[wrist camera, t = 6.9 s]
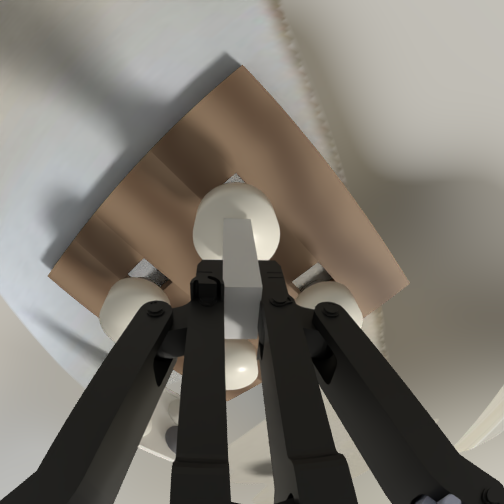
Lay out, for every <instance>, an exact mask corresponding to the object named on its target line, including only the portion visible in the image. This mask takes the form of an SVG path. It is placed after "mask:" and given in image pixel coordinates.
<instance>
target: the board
mask: <svg viewBox="0 0 504 504" xmlns="http://www.w3.org/2000/svg"><path fill="white" fill-rule="evenodd" d="M235 173H237V174H238V175H239V176H240V177H241V178H242V180H243V181H244V182H245V183H246V184H249V185H252V186H254V187H256V188H258V189H259V190H261V191H262V192H263V193H264V194H265V195H266V196H267V197H268V199H269V200H270V202H271V204H272V207H273V209H274V212H275V215H276V218H277V221H278V224H279V228H280V239H279V244H278V247H277V249H276V251H275V253H274V254H273V256H272V257H271V258H270V259H269V260H275V261H276V262H277V263H278V264H279V265H280V266H281V269H282V272H283V276H284V279H285V283H286V286H287V290H288V294H289V295H290V296H291V297H293V298H294V300H295V299H296V298H297V296H298V295H299V294H300V293H301V291H300V290H299V289H298V288H297V287H296V286H295V285H294V284H293V283H292V281H293V280H295V279H296V278H297V277H299V276H300V275H301V274H303V273H304V272H305V271H307V270H308V269H309V268H311V267H312V266H313V265H315V264H316V263H317V262H319V263H320V264H321V265H322V266H323V268H324V269H325V270H326V271H327V272H328V273H329V274H330V275H331V277H332V279H331V280H330V281H333V282H338V283H341V284H343V285H345V286H346V287H347V288H348V289H349V290H350V291H351V293H352V295H353V297H354V299H355V301H356V303H357V305H358V307H359V309H360V311H361V313H362V316H363V318H364V317H366V316H367V315H368V314H370V313H371V312H373V311H374V310H375V309H377V308H378V307H379V306H381V305H382V304H384V303H385V302H386V301H387V300H389V299H390V298H392V297H393V296H394V295H396V294H397V293H398V292H399V291H401V290H402V289H403V288H405V287H406V286H407V285H409V284H410V283H409V281H408V279H407V278H406V276H405V274H404V273H403V271H402V270H401V268H400V266H399V265H398V263H397V262H396V260H395V259H394V257H393V255H392V254H391V252H390V251H389V249H388V248H387V246H386V245H385V243H384V242H383V240H382V238H381V237H380V235H379V234H378V232H377V231H376V230H375V228H374V227H373V225H372V224H371V222H370V221H369V219H368V218H367V217H366V215H365V214H364V212H363V211H362V209H361V208H360V206H359V205H358V204H357V202H356V201H355V199H354V198H353V197H352V195H351V194H350V193H349V191H348V190H347V188H346V187H345V186H344V184H343V183H342V182H341V180H340V179H339V178H338V176H337V175H336V174H335V172H334V171H333V170H332V168H331V167H330V166H329V165H328V163H327V162H326V161H325V159H324V158H323V157H322V156H321V154H320V153H319V152H318V151H317V149H316V148H315V147H314V146H313V144H312V143H311V142H310V141H309V139H308V138H307V137H306V136H305V134H304V133H303V132H302V131H301V130H300V128H299V127H298V126H297V125H296V124H295V122H294V121H293V120H292V119H291V118H290V117H289V115H288V114H287V113H286V112H285V111H284V110H283V108H282V107H281V106H280V105H279V104H278V103H277V102H276V100H275V99H274V98H273V97H272V96H271V95H270V94H269V93H268V92H267V90H266V89H265V88H264V87H263V86H262V85H261V84H260V83H259V82H258V81H257V80H256V78H255V77H254V76H253V75H252V74H251V73H250V72H249V71H248V70H247V69H246V68H245V67H244V66H243V65H242V66H241V67H239V68H238V69H237V70H236V71H234V72H233V73H232V74H231V75H230V76H228V77H227V78H226V79H225V80H224V81H223V82H221V83H220V84H219V85H218V86H217V87H216V88H215V89H213V90H212V91H211V92H210V93H209V94H208V95H207V96H205V97H204V98H203V99H202V100H201V101H200V102H199V103H198V104H197V105H196V106H195V107H193V108H192V109H191V110H190V111H189V112H188V113H187V114H186V115H185V116H184V117H183V118H182V119H181V120H180V121H179V122H178V123H177V124H176V125H174V126H173V127H172V128H171V129H170V130H169V131H168V132H167V133H166V134H165V135H164V136H163V137H162V138H161V139H160V140H159V141H158V142H157V144H156V145H155V146H154V147H153V148H152V149H151V150H150V151H149V152H148V153H147V154H146V155H145V156H144V157H143V158H142V159H141V160H140V161H139V162H138V164H137V165H136V166H135V167H134V168H133V169H132V170H131V171H130V172H129V173H128V175H127V176H126V177H125V178H124V179H123V180H122V181H121V182H120V184H119V185H118V186H117V187H116V188H115V189H114V190H113V192H112V193H111V194H110V195H109V196H108V197H107V199H106V200H105V201H104V202H103V203H102V205H101V206H100V207H99V208H98V209H97V211H96V212H95V213H94V214H93V216H92V217H91V218H90V219H89V221H88V222H87V223H86V224H85V226H84V227H83V228H82V230H81V231H80V232H79V233H78V235H77V236H76V237H75V239H74V240H73V241H72V243H71V244H70V245H69V247H68V248H67V249H66V251H65V252H64V254H63V255H62V256H61V258H60V259H59V260H58V262H57V263H56V265H55V266H54V268H53V269H52V270H51V272H50V273H49V275H48V277H49V278H50V279H52V280H53V281H54V282H55V283H56V284H57V285H59V286H60V287H61V288H62V289H63V290H64V291H66V292H67V293H68V294H69V295H71V296H72V297H73V298H74V299H75V300H77V301H78V302H79V303H80V304H82V305H83V306H84V307H85V308H87V309H88V310H89V311H91V312H92V313H93V314H94V315H96V316H97V317H98V318H99V314H100V311H101V308H102V306H103V304H104V302H105V299H106V297H107V295H108V293H109V291H110V289H111V287H112V286H113V285H114V284H115V283H116V282H118V281H119V280H121V279H124V278H130V276H129V275H128V273H129V272H130V271H131V270H132V269H133V268H134V267H135V266H136V265H137V264H138V263H139V262H140V261H141V260H142V259H143V258H145V259H146V260H147V261H148V262H150V263H151V264H152V265H153V266H154V267H155V268H157V269H158V270H159V271H160V272H161V273H163V274H164V275H165V276H166V277H167V278H169V280H168V281H167V282H165V283H164V284H163V285H162V286H161V287H160V288H161V289H162V290H163V291H164V292H165V294H166V295H167V297H168V299H169V301H170V305H171V307H172V308H176V307H180V306H183V305H185V304H187V303H189V302H190V301H191V296H190V282H191V280H192V279H193V278H194V277H196V271H197V265H198V264H199V263H200V262H201V260H202V258H201V257H200V256H199V254H198V253H197V251H196V249H195V246H194V242H193V228H194V223H195V219H196V214H197V209H198V207H199V204H200V202H201V201H202V199H203V198H204V196H205V195H206V194H207V193H208V192H210V191H211V190H212V189H214V188H216V187H218V186H220V185H222V184H223V183H225V182H226V181H227V180H228V179H229V178H230V177H231V176H233V175H234V174H235ZM247 340H249V341H250V342H251V343H252V344H253V345H254V347H255V349H256V357H257V350H258V341H259V337H258V336H257V339H247ZM183 363H184V356H181V357H178V358H177V362H176V364H175V366H174V368H173V370H175V371H176V372H178V373H180V374H181V375H182V373H183ZM257 366H258V376H257V378H256V379H255V381H254V382H253V383H251V384H250V385H248V386H246V387H244V388H241V389H236V390H226V401H229V400H231V399H233V398H235V397H236V396H238V395H240V394H242V393H244V392H246V391H247V390H249V389H251V388H253V387H255V386H256V385H258V384H260V383H262V379H261V371H260V363H259V360H257Z"/></svg>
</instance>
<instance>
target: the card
mask: <svg viewBox="0 0 504 504" xmlns="http://www.w3.org/2000/svg"><path fill="white" fill-rule="evenodd" d="M179 406H180V395H179V394H177V393H175V392H174V391H172V390H170V389H168V388H167V387H165V388H164V390H163V392H162V395H161V397H160V399H159V401H158V403H157V406H156V408H155V410H154V412H153V415H152V417H151V419H150V421H149V423H148V426H147V428H146V430H145V432H144V435H143V437H142V439H141V441H140V444H139V446H138V448H140V449H142V450H145V451H147V452H149V453H152V454H154V455H156V456H158V457H161V458H163V459H166V460H168V461H171V462H174V460H175V458H176V446H177V431H178V418H179Z"/></svg>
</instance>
